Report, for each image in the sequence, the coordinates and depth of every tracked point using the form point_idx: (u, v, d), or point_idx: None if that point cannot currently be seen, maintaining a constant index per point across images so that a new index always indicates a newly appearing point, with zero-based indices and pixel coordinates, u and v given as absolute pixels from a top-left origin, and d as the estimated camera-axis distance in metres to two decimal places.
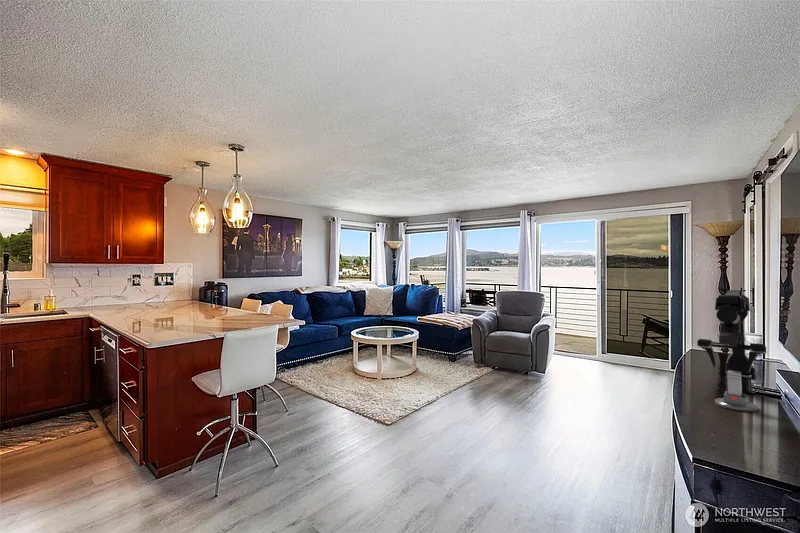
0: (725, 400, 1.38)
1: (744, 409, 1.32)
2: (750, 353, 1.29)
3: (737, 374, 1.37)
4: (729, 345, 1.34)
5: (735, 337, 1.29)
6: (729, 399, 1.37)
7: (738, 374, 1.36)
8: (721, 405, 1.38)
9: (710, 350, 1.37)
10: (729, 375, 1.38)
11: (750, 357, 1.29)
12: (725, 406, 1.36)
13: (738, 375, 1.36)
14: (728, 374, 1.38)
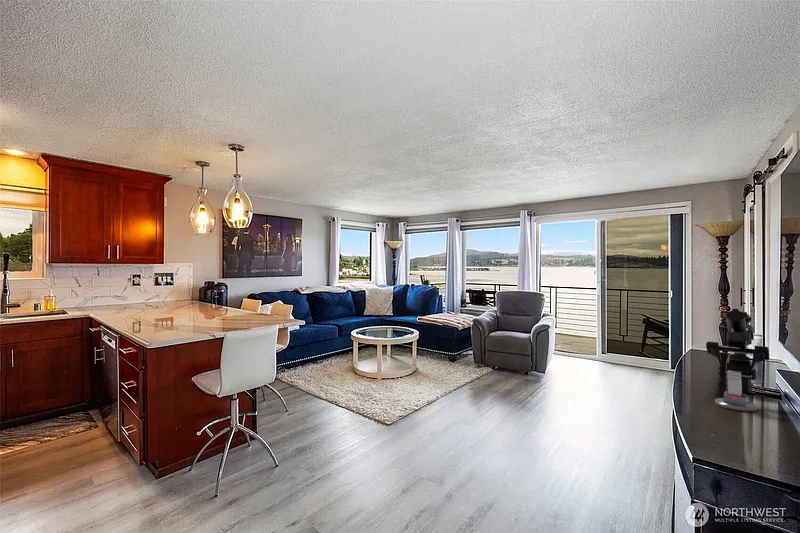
0: (725, 400, 1.38)
1: (744, 409, 1.32)
2: (754, 352, 1.42)
3: (737, 374, 1.37)
4: (735, 347, 1.47)
5: (741, 333, 1.44)
6: (729, 399, 1.37)
7: (738, 374, 1.36)
8: (721, 405, 1.38)
9: (717, 350, 1.50)
10: (729, 375, 1.38)
11: (754, 356, 1.42)
12: (725, 406, 1.36)
13: (738, 375, 1.36)
14: (728, 374, 1.38)
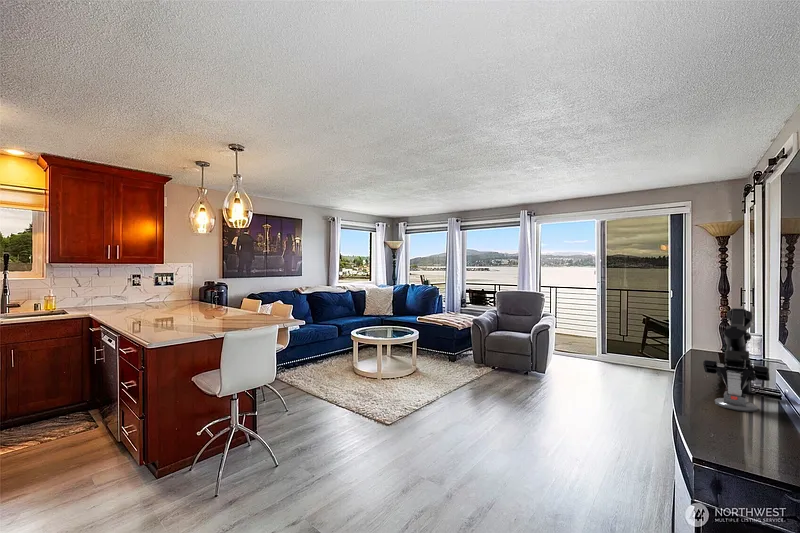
0: (725, 400, 1.38)
1: (744, 409, 1.32)
2: (744, 371, 1.37)
3: (737, 374, 1.37)
4: (743, 367, 1.39)
5: (740, 352, 1.38)
6: (729, 399, 1.37)
7: (738, 374, 1.36)
8: (721, 405, 1.38)
9: (724, 370, 1.42)
10: (729, 375, 1.38)
11: (744, 376, 1.37)
12: (725, 406, 1.36)
13: (738, 375, 1.36)
14: (728, 374, 1.38)
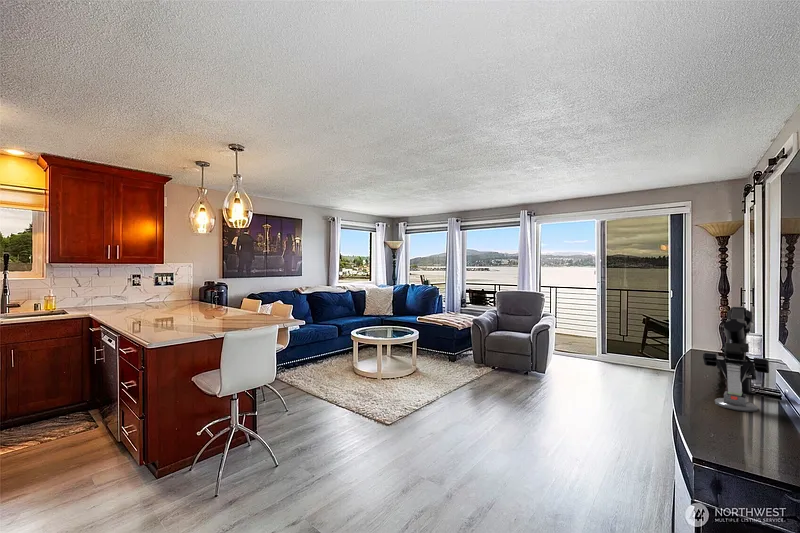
0: (725, 400, 1.38)
1: (744, 409, 1.32)
2: (744, 364, 1.38)
3: (737, 366, 1.37)
4: (743, 360, 1.39)
5: (740, 344, 1.38)
6: (729, 399, 1.37)
7: (738, 366, 1.37)
8: (721, 405, 1.38)
9: (724, 362, 1.42)
10: (729, 367, 1.38)
11: (743, 368, 1.37)
12: (725, 406, 1.36)
13: (738, 367, 1.36)
14: (728, 366, 1.39)
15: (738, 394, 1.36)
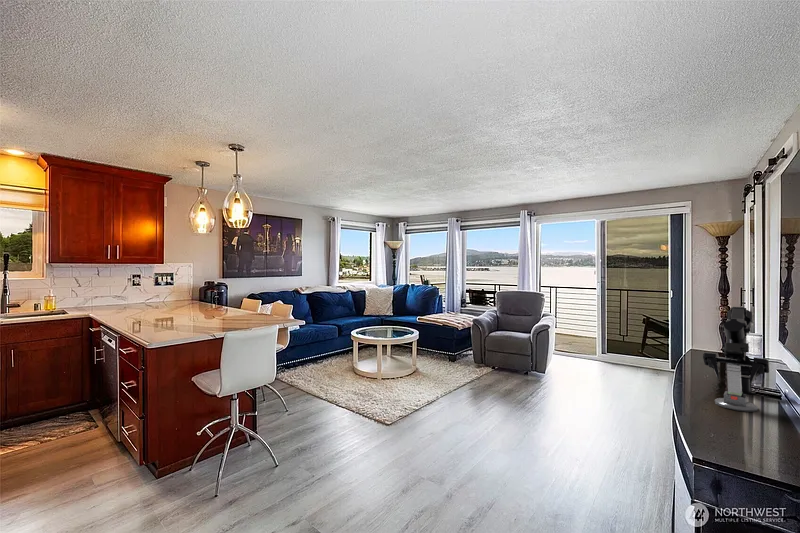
0: (725, 400, 1.38)
1: (744, 409, 1.32)
2: (753, 364, 1.36)
3: (737, 366, 1.37)
4: (733, 359, 1.41)
5: (740, 344, 1.38)
6: (729, 399, 1.37)
7: (738, 366, 1.37)
8: (721, 405, 1.38)
9: (715, 361, 1.44)
10: (729, 367, 1.38)
11: (753, 369, 1.36)
12: (725, 406, 1.36)
13: (738, 367, 1.36)
14: (728, 366, 1.39)
15: (738, 394, 1.36)
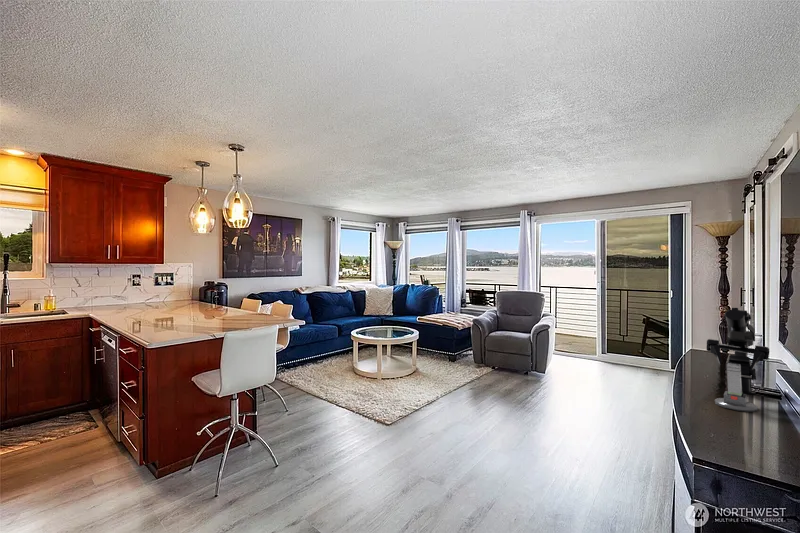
0: (725, 400, 1.38)
1: (744, 409, 1.32)
2: (755, 352, 1.43)
3: (737, 366, 1.37)
4: (736, 346, 1.48)
5: (744, 333, 1.44)
6: (729, 399, 1.37)
7: (738, 366, 1.37)
8: (721, 405, 1.38)
9: (718, 348, 1.50)
10: (729, 367, 1.38)
11: (754, 356, 1.43)
12: (725, 406, 1.36)
13: (738, 367, 1.36)
14: (728, 366, 1.39)
15: (738, 394, 1.36)
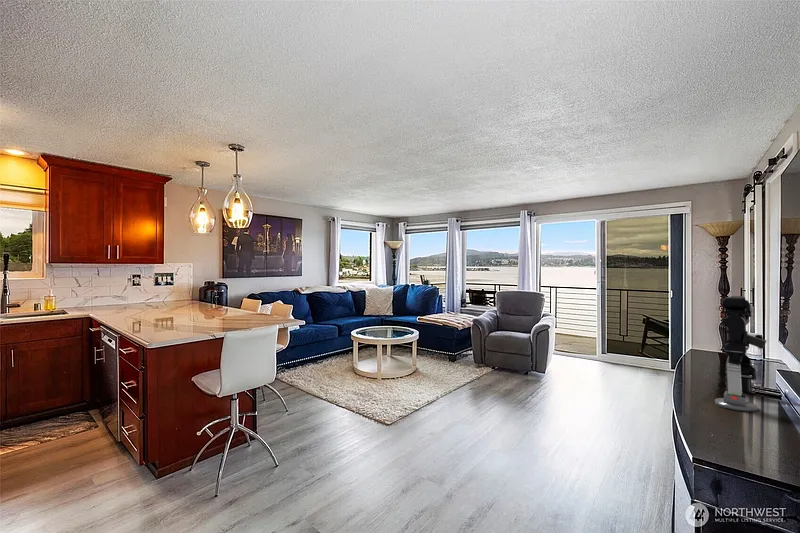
0: (725, 400, 1.38)
1: (744, 409, 1.32)
2: (747, 349, 1.49)
3: (737, 366, 1.37)
4: None
5: None
6: (729, 399, 1.37)
7: (738, 366, 1.37)
8: (721, 405, 1.38)
9: (743, 354, 1.42)
10: (729, 367, 1.38)
11: None
12: (725, 406, 1.36)
13: (738, 367, 1.36)
14: (728, 366, 1.39)
15: (738, 394, 1.36)
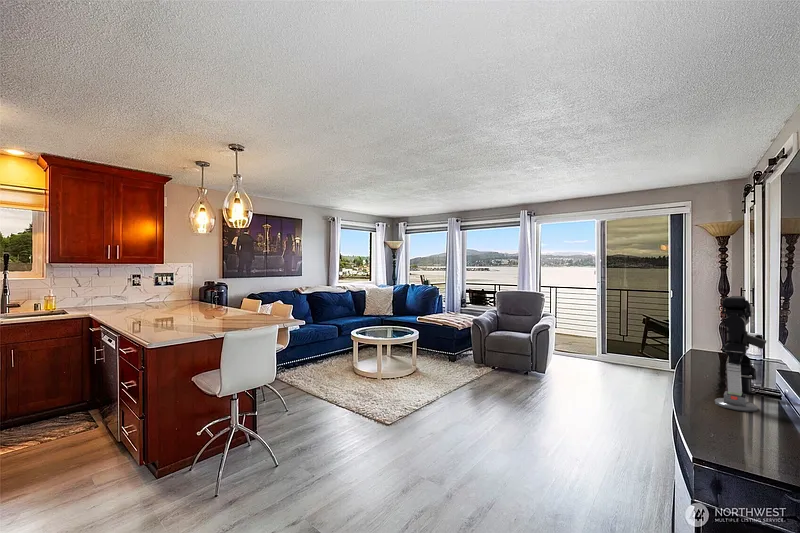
0: (725, 400, 1.38)
1: (744, 409, 1.32)
2: (747, 349, 1.49)
3: (737, 366, 1.37)
4: None
5: None
6: (729, 399, 1.37)
7: (738, 366, 1.37)
8: (721, 405, 1.38)
9: (743, 354, 1.42)
10: (729, 367, 1.38)
11: None
12: (725, 406, 1.36)
13: (738, 367, 1.36)
14: (728, 366, 1.39)
15: (738, 394, 1.36)
